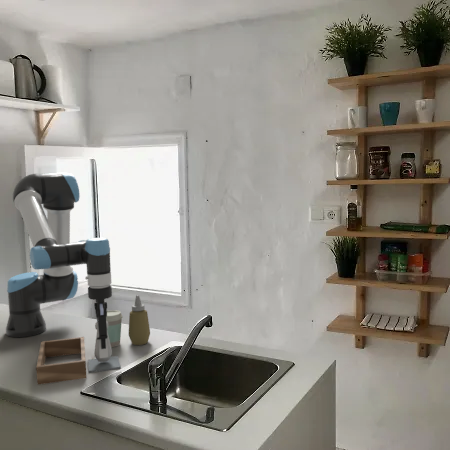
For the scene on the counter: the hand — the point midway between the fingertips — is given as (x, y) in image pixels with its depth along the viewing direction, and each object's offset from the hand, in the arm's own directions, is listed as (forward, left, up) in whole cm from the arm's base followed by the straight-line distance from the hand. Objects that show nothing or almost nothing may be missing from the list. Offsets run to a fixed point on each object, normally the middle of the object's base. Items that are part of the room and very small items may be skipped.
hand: (103, 353), depth 166 cm
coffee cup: (-19, +4, -4) cm, 20 cm away
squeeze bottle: (-17, +14, -4) cm, 22 cm away
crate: (-3, -13, -4) cm, 14 cm away
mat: (0, 0, -4) cm, 4 cm away
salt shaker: (0, 0, -2) cm, 2 cm away
